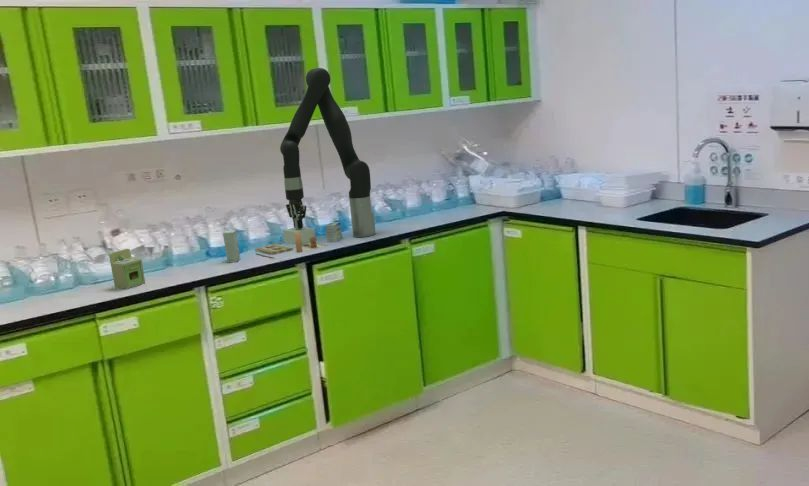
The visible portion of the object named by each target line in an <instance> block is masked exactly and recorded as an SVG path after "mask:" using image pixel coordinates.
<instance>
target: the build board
mask: <svg viewBox="0 0 809 486" xmlns="http://www.w3.org/2000/svg"><path fill="white" fill-rule="evenodd" d="M254 251H255V252H256V253H255V255H256V256H260V257H265V258H268V259H274V257H272V256H273V255H278V254H282V253H287V252H292V251H294V247H293V246H287V245H283V244H278V243H275V244H270V245H265V246H260V247H256V248H254ZM257 252H258V253H257ZM260 253H262V254H260ZM264 254H266V255H264ZM269 255H270V256H269Z"/></svg>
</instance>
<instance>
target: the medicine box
mask: <svg viewBox="0 0 809 486" xmlns="http://www.w3.org/2000/svg"><path fill="white" fill-rule="evenodd" d="M325 233H326V240H327V242H326V243H338V242H339V241H340V240H342V239H343V235H342V224H341V221H333V222H330V223H328V224H327V225H325Z"/></svg>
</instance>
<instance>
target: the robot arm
mask: <svg viewBox="0 0 809 486" xmlns="http://www.w3.org/2000/svg"><path fill="white" fill-rule="evenodd" d="M305 83H306V85H307V90H306V92H305V95H304V97H303V99H302V101H301V103H300V104H299V106H298V108H297V110H296V111H295V113H294V114H293V118H292V119H291V121H290V124H289V127H288V130H287V131H286V133H285V135H284V137H283V140H282V142H281V144H280V147H279V151H280V153H281V154H282V157H283V168H282V169H283V178H284V183H283V185H284V191H285V192H284V193H285V199H286V200H288V203H287V204H285V207H286V210H287V213H288V215H289V218H291V219H292V222H293V228H295V221H294V218H297V225H298V228H299V229H300V228H303V227H304V223H303V219H306V214H307V205H303V201H302V199H304V198H305V197H304V196H305V195H304V187H303V186H304V185H303V180H302V175H301V174H302V173H301V167H300V148H299V147H300V146H299V145H300V142H301V141H302V138H304V136H305V134H306V132H307V130H308V127H309V125H310V123H311V120H312V118H313V115H314V113H315V111H316V108H317V106H318V110H319V112H320V114H321V117H322V119H323V122H324V125H325V126H324V127H325V128H326V129H327V132H328V135H329V137H330V139H331V142H332V144H333V145H334V147H335V149H336V151H337V154H338V156H339V159H340V162H341V166H342V169H343V172H344V175H345V176H346V178H347V179H349V183H350V189H349V191H348V199H349V207H350V219H351V228H352V230H351V231H352V237H354V238H365V237H366V238H367V237H371V236H374V235H376V233H377V232H376V223H375V213H374V212H372V201H371V190H372V189H371V186H372V185H371V183H372V182H371V172H370V171H371V170H370V167H369V164H368V163H366V162H365V161H363V160H360V158H359V156H358V155H357V153H356V150H355V148H354V144H353V136H352V133H351V132H352V131H351V127H350V125H349V122H348V120H347V118H346V116H345V113H344V112H343V110H342V109H341V107H340V106H339V104H338V103H337V101H336V100H335V98H334V97H333V94H332V91H331V89H330V86H329V85H330V84H331V75H330V73H329V71H328V70H326V69H325V68H321V67H316V68H312V69H310V70H309V71H307V73H306V76H305Z"/></svg>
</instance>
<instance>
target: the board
mask: <svg viewBox="0 0 809 486" xmlns="http://www.w3.org/2000/svg"><path fill="white" fill-rule="evenodd" d="M324 247H328V244H323V243H317V238H316V236H315V237H310V242H309V243H305V244H302V250H303V251H310V250H316V249H319V248H320V249H321V248H324ZM294 248H295V249H296V245H294V246H293V249H294Z"/></svg>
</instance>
